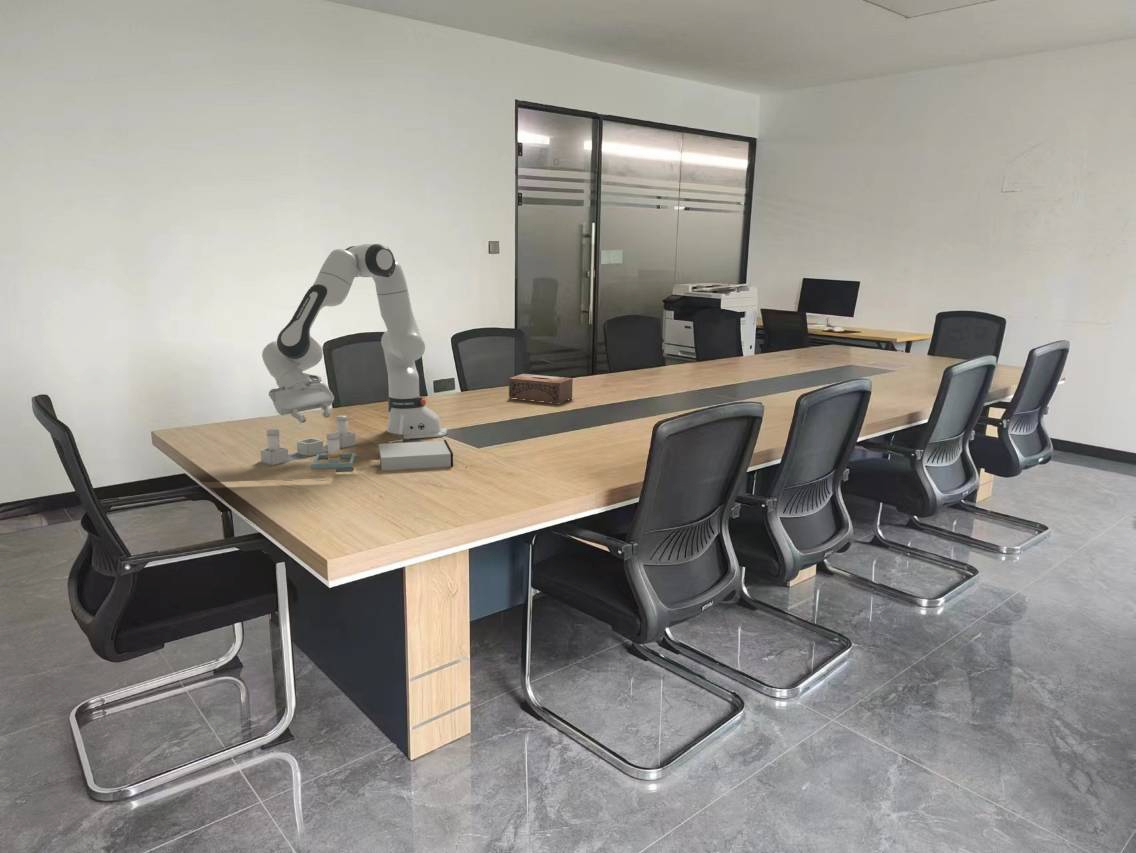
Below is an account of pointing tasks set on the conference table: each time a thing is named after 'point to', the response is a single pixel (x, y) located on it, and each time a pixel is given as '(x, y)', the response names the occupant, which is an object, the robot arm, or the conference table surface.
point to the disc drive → (415, 455)
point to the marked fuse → (333, 448)
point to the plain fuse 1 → (273, 440)
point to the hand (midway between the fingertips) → (315, 419)
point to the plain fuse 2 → (342, 425)
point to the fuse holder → (303, 450)
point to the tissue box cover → (540, 388)
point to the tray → (335, 465)
